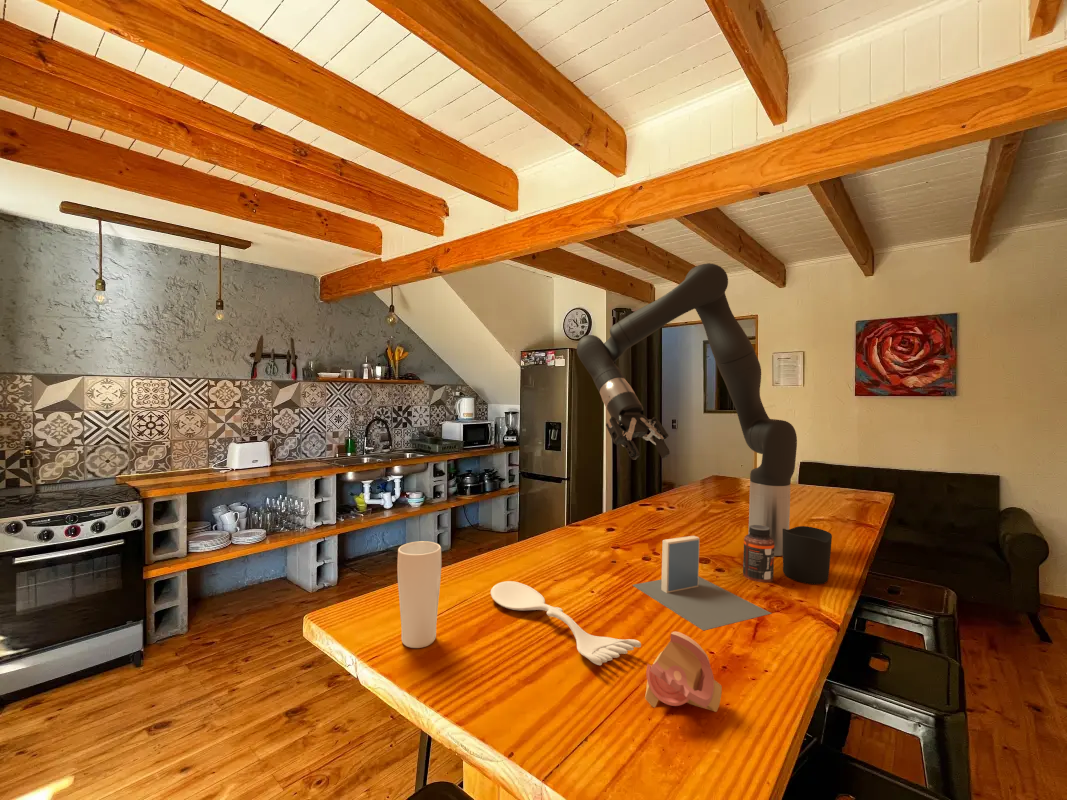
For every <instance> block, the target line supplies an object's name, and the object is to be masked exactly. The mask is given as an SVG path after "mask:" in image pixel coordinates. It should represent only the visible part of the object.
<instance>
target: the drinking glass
mask: <svg viewBox="0 0 1067 800" xmlns="http://www.w3.org/2000/svg"><path fill="white" fill-rule="evenodd" d="M396 561H397V564H396V565H397V567H396V569H397V589H398V598H399V611H400V612H399V613H400V624H401V625H400V626H401V642H402V644H403V646H405V647H408V648H411V649H420V648H421V649H422V648H425V647H428V646H430V645H432V644H433V643H434V641H435V640H436V637H437V622H438V621H437V620H438V611H439V610H438V608H439V598H440V588H441V577H442V547H441V545H440V544H439V543H437V542H434V541H427V540H424V541H423V540H420V541H411V542H407V543H404V544H402V545H401V546H399V547H398V549H397V560H396Z"/></svg>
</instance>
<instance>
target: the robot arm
mask: <svg viewBox="0 0 1067 800" xmlns="http://www.w3.org/2000/svg"><path fill="white" fill-rule="evenodd" d="M728 284H729V277H728V274H727V272H726V270H725V269H724V268H723V267H722V266H720V265H718V264H715V263H710V262H709V263H708V262H707V263H702V264H698V265H696V266H694V267H692V268H691V269H690V270H689V271H688V273H687V274H686V275H685V278H684V280H683V281H682V282H680V283H679V284H678V285H677V286H675V287H674V288H673V289H671V290H670V291H669V292H668V293H667V292H666V294H664V295H662V296H661V297H659V298H658V299H656V300H654V301H652V302H650V303H649V304H647V305H644V306H643V307H640V308H639V309H637V310H635V311H633V312H631V313H630V314H628V315H627V316H625V317H623V318H622V319H621V320H618V322H616V323H615V324H613V325H611V327H610V329H609V335H610V337H609V338H608V339H607V340H606V341H605V342H603V341H602V339H601V338H600V337H598V336H597V335H594V334H587V335H584V336H583V337H581V338H580V339H579V340H578V342H577V345H576V354H577V356H578V359H579V360H580V361H581V363H582V365H583V366H584V368H585V369H586V371H587V372H588V374H589V376H591V378H592V380H593V383H594V385H595V388H596V390H598V392H599V394H600V397H601V400H602V402H603V404H604V406H605V409H607V412H608V414H609V416H610V418H609V419H608V421H607V423H605V426H606V430H607V431H608V433H609V435H610V438H611V439H612V442H613V444H615V446H617V445H621V446H622V447H623V448H624V449H625V451H626V453H627V454H628V456H629V458H631V460H633V461H634V460H637V459H638V458H639V457H640V455H641V453H640V452H639V449H638V447H637V446H636V444H635V442H634V440H632V439H635V438H642V439H643V440H645V441H650V442H651V443H652V444H653V445H654V447H655V449H656V450H657V452H658V454H659V455H660V458H662V459H667V457H668V456H669V455H670V449H669V447H668V446H667V444H666V442H665V441H666V440H667V438H669V433H668V432H667V431H666V430H665V427H664V426H663V425H662V423H661V422H660V420H659V419H658V417H657V416H653V417H652V419H648V418H647V417H646V416H645V414H644V407H643V404H642V403H641V401H640V400H639V398H638V396H637V394H636V393H635V391H634V389H633V388H632V386H631V385H630V383H628V381H627V380H626V378H625V377H624V375H623V373H622V371H621V370H620V368H619V366H617V364H616V363H615V362H616V361H617V360H618V359H620V357H621V356H622V355H623V354H624V353H625V352H626V351H627V350H628V349H629V348H632V347H633V346H634V345H637V344H638V343H639V342H641V341H643V340H644V339H645V338H647V337H649V336H651V335H652V334H653V333H655V332H656V331H658V330H659V329H661V328H663V327H664V326H666V325H667V324H669V323H671V322H672V321H674V320H675V319H677V318H679V317H680V316H683V315H684V314H687V313H688V312H690V311H693V310H695V311H696V313H697V315H698V316H699V319H700V320H701V323H702V326H703V328H704V330H705V334H706V337H707V341H708V344H709V347H710V350H711V352H712V356H713V359H714V360H715V364H716V366H717V369H718V371H719V373H720V376H721V377H722V379H723V381H724V384H725V386H726V389H727V391H728V394H729V397H730V399H731V402H732V403H733V406H734V408H735V410H736V414H737V417H738V420H739V424H740V428H741V431H742V432H741V433H742V434H743V438H744V440H745V443H746V445H747V446H748V448H749V449H751V451H753V452H755V453H756V454H760V455H762V456H761V463H760V465H759V466H758V467H756V468H755V467H754V468H752V469H751V471H750V473H749V502H748V503H749V507H748V513H749V515H748V527H749V526H751V525H762V526H766V527H768V528H770V537H771V538H772V539H773V540H774V557H779V556H780V557H781V556H782V557H783V529H786V530H789V529H790V517H791V515H790V514H791V513H790V510H791V508H790V507H791V484H792V483H791V482H792V481H791V480H792V478H793V475H794V473H795V469H796V459H797V458H796V457H797V449H798V448H797V447H798V439H797V437H798V436H797V431H796V430H795V428H794V426H793V424H792V423H790V422H789V421H786V420H783V419H775V418H770V417H769V416H768V413H767V411H766V409H765V406H764V404H763V401H762V399H761V385H762V384H761V383H762V382H761V381H762V367H761V363H760V361H759V358H758V356H757V353H756V351H755V348H754V345H752V342H751V341H750V339H749V336H747V334H746V332H745V330H744V329H743V327H742V326H741V325H740V323H739V321H738V320H737V319H736V317H735V315H734V314H733V312H732V309H731V307H730V304H729V301H728V299H727V296H726V293H725V292H726V290H727V288H728ZM649 431H650V432H649ZM648 432H649V434H647V433H648ZM748 534H750V532H749V531H748ZM748 534H747V535H748Z"/></svg>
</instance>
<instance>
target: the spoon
mask: <svg viewBox="0 0 1067 800" xmlns="http://www.w3.org/2000/svg"><path fill="white" fill-rule="evenodd" d="M490 597H491V598H492V600H493V601H494V602H495V603H496V604H498V605H499V606H501V607H503V608H504V609H505V608H506V609H508V610H513V611H536V610H537V611H544V612H546V615H547V616H548V617H552V618H556V619H558V620H560V621H562V622H563V623H564V624H565V625H567V626H568V627H569V629H570V630H571V633H572V634H573V636H574V638H575V641H576V650H577V651H578V653H579V654H581V655H582V656H583V657H584V658H586V659H587V660H589V661H590V662H591V663H593V664H595V665H597V666H602V665H603V663H608V661H613V658H616V659H617V658H619V657H620V656H621V655H622V654H623V655H624V654H625V655H626V654H628V651H634V649H635V648H641V647H642V643H641V641H639V640H637V639H632V638H631V639H630V638H628V639H623V638H622V639H621V638H619V639H618V638H616V637H615V638H614V637H610V636H598V635H593V634H590V633H588V632H586V631H585V630H584V629H583V628H582V627H580V626H579V624H578V623H576V622H575V620H574V619H573V618H572V617H571V616H569V615H568V614H566V613H564V610H563V609H562V608H561V607H558V606H552V605H549V604H547V603H546V600H545V597H544V595H542V594H541V593H540V592H539V591H537V590H536V589H534V588H533V587H531V586H529V585H527V584H524V583H521V582H518V581H513V580H507V581H501V582H498V583H496V584H495V585H493V587H492V588H491V589H490Z"/></svg>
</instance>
